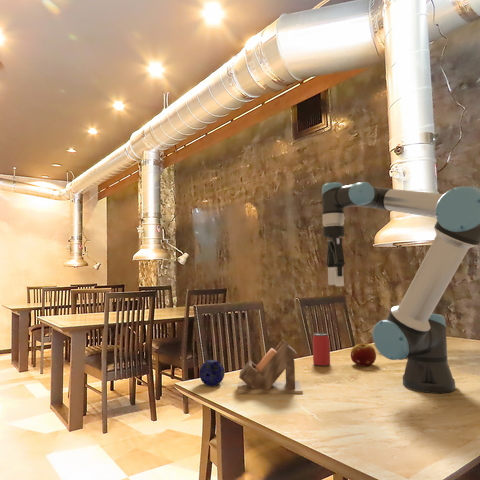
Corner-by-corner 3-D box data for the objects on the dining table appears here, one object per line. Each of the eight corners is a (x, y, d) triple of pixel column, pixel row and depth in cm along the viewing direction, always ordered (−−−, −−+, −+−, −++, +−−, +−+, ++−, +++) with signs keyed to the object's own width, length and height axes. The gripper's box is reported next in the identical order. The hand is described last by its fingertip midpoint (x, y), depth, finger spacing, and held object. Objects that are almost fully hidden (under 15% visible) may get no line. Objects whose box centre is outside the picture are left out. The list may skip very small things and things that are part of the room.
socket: (237, 399, 123) (236, 345, 124) (238, 389, 134) (238, 339, 135) (303, 399, 122) (301, 344, 124) (299, 388, 133) (297, 338, 135)
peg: (258, 387, 127) (282, 358, 127) (249, 381, 126) (273, 351, 126) (255, 381, 131) (278, 352, 131) (246, 375, 130) (269, 346, 130)
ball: (206, 380, 139) (206, 358, 140) (227, 381, 137) (226, 359, 138) (196, 386, 132) (196, 363, 132) (218, 388, 130) (218, 364, 130)
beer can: (325, 367, 155) (324, 335, 156) (310, 365, 159) (309, 334, 160) (333, 364, 160) (331, 333, 161) (317, 362, 164) (316, 332, 165)
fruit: (355, 368, 153) (354, 346, 153) (348, 362, 162) (347, 342, 162) (380, 367, 153) (379, 346, 154) (371, 362, 162) (370, 342, 163)
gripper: (352, 221, 133) (354, 286, 131) (337, 229, 157) (339, 284, 156) (329, 222, 133) (331, 287, 131) (317, 229, 158) (319, 284, 156)
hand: (335, 285), depth 143 cm, fingers open, 13 cm apart
